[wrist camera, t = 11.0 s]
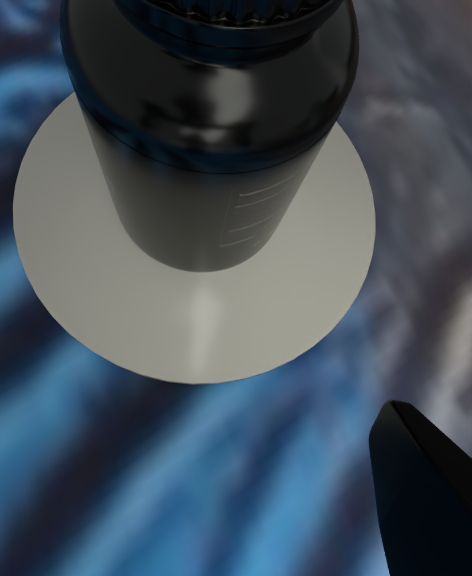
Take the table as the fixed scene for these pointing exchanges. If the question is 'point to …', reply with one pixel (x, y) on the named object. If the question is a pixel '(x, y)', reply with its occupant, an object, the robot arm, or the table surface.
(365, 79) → the table surface
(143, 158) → the supplement bottle
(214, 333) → the saucer
